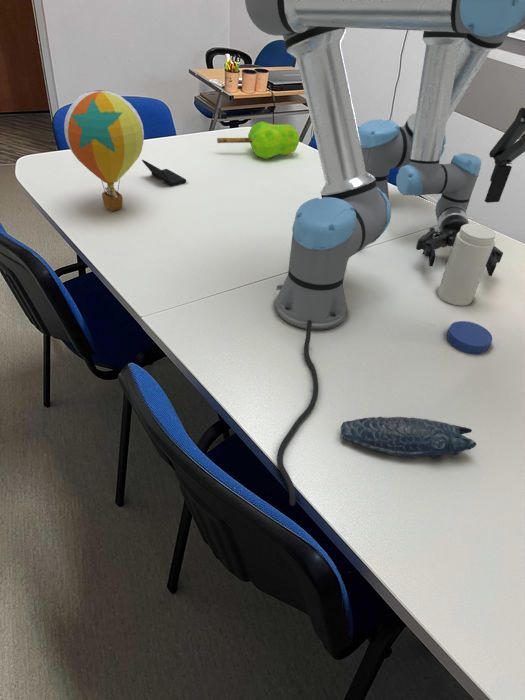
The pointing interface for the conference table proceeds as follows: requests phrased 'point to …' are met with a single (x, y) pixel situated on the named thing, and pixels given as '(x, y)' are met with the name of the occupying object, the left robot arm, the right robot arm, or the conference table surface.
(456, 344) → the lid
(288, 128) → the decorative tree
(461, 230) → the jar
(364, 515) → the conference table surface
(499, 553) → the conference table surface
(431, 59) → the right robot arm
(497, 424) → the conference table surface
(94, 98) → the toy
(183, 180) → the black angled piece
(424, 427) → the fish model
